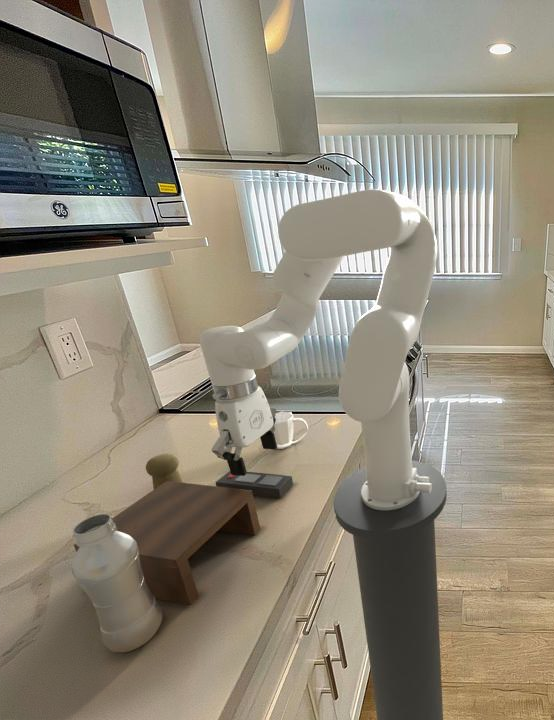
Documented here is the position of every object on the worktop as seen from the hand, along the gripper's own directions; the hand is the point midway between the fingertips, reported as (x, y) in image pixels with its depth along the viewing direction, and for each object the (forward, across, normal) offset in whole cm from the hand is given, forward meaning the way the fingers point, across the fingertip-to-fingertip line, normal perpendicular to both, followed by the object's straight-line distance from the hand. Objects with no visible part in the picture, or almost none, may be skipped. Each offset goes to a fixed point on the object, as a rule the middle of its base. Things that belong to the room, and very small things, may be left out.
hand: (255, 460), depth 85 cm
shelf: (+7, -19, +1) cm, 20 cm away
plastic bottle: (+7, -32, -4) cm, 34 cm away
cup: (+7, +18, +5) cm, 20 cm away
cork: (+7, -7, +15) cm, 18 cm away
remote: (+7, 0, +2) cm, 7 cm away
